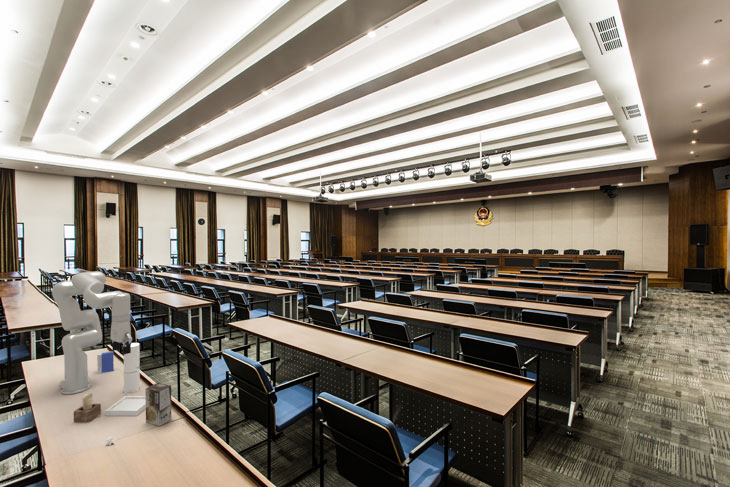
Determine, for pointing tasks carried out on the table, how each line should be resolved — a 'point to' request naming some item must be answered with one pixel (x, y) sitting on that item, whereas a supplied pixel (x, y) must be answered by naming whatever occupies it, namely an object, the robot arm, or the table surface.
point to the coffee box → (158, 404)
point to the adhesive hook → (110, 441)
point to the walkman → (105, 362)
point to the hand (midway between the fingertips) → (121, 351)
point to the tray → (127, 406)
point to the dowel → (87, 401)
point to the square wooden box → (87, 413)
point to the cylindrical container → (132, 369)
